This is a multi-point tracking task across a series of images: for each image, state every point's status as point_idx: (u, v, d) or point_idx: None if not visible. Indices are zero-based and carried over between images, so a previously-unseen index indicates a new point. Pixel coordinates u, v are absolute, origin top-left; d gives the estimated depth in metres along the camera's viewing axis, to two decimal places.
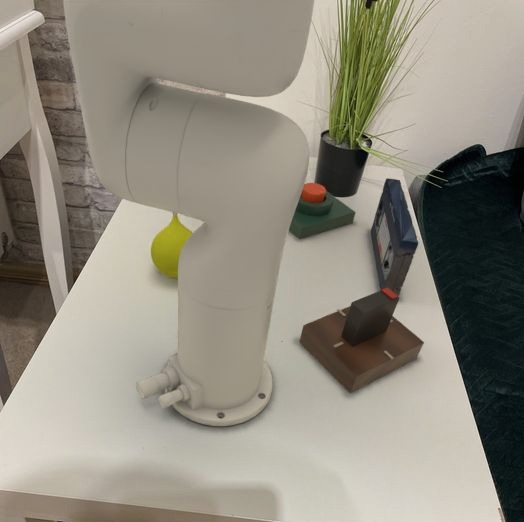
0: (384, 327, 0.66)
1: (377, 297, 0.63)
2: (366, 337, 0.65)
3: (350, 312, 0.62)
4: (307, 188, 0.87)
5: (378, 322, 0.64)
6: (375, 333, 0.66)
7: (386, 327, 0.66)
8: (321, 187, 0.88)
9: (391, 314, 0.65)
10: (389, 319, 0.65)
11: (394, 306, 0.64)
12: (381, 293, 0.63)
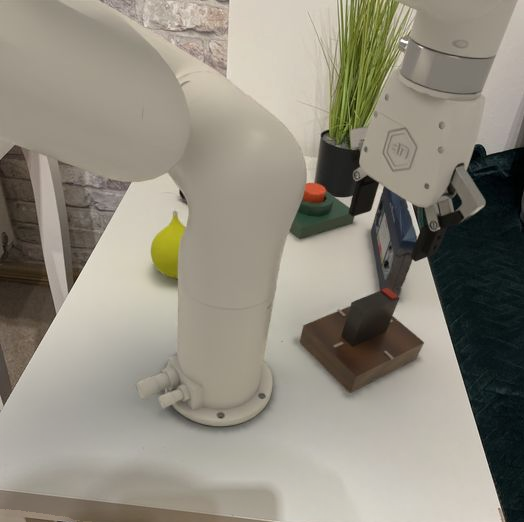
0: (384, 327, 0.66)
1: (377, 297, 0.63)
2: (366, 337, 0.65)
3: (350, 312, 0.62)
4: (307, 188, 0.87)
5: (378, 322, 0.64)
6: (375, 333, 0.66)
7: (386, 327, 0.66)
8: (321, 187, 0.88)
9: (391, 314, 0.65)
10: (389, 319, 0.65)
11: (394, 306, 0.64)
12: (381, 293, 0.63)
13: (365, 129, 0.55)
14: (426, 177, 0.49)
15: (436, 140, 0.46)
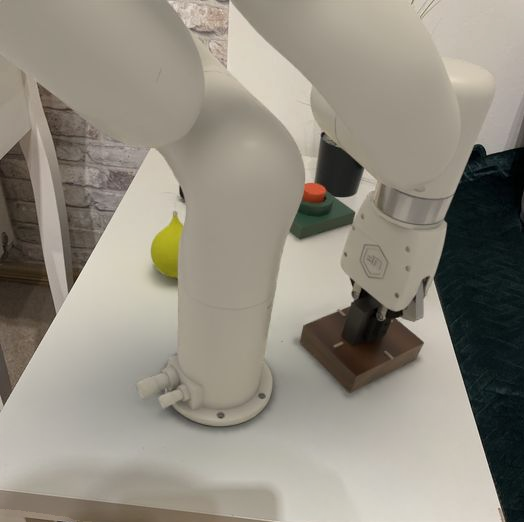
0: None
1: None
2: None
3: (350, 312, 0.62)
4: (307, 188, 0.87)
5: None
6: None
7: None
8: (321, 187, 0.88)
9: None
10: None
11: None
12: None
13: None
14: (396, 288, 0.55)
15: (404, 260, 0.53)
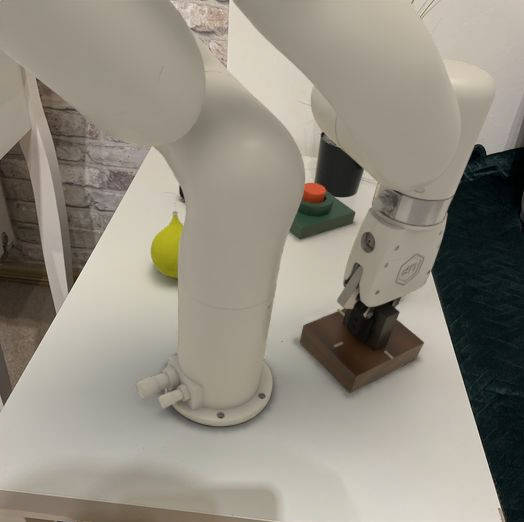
0: None
1: None
2: None
3: (385, 325, 0.61)
4: (307, 188, 0.87)
5: None
6: None
7: None
8: (321, 187, 0.88)
9: None
10: None
11: None
12: None
13: (355, 290, 0.57)
14: (428, 267, 0.59)
15: (436, 243, 0.56)
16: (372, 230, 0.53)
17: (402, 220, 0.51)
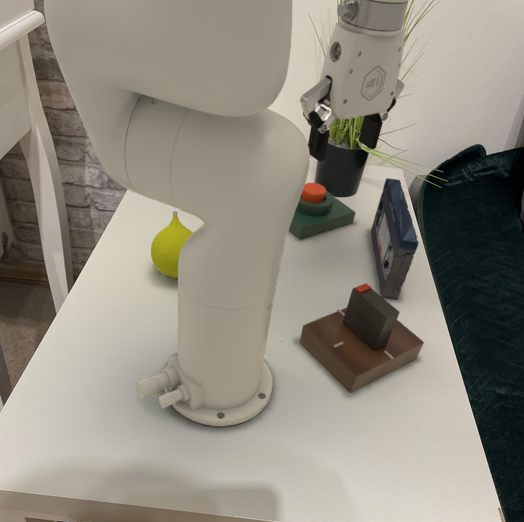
0: None
1: (371, 298, 0.62)
2: None
3: (385, 325, 0.61)
4: (307, 188, 0.87)
5: None
6: None
7: None
8: (321, 187, 0.88)
9: None
10: None
11: None
12: (363, 294, 0.63)
13: (320, 90, 0.65)
14: (391, 88, 0.68)
15: (396, 60, 0.66)
16: (338, 39, 0.62)
17: (363, 25, 0.60)
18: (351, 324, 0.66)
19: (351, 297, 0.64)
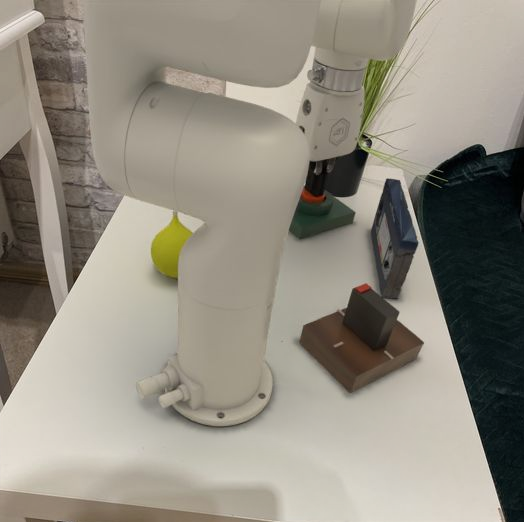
0: None
1: (371, 298, 0.62)
2: None
3: (385, 325, 0.61)
4: (306, 192, 0.87)
5: None
6: None
7: None
8: None
9: None
10: None
11: None
12: (363, 294, 0.63)
13: None
14: (355, 134, 0.81)
15: (358, 113, 0.78)
16: (309, 97, 0.74)
17: (328, 87, 0.73)
18: (351, 324, 0.66)
19: (351, 297, 0.64)
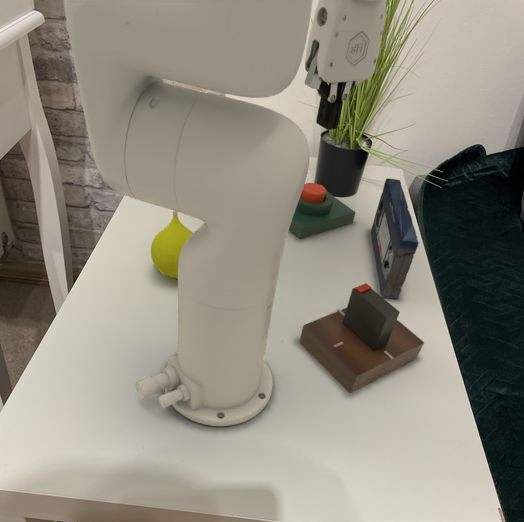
0: None
1: (371, 298, 0.62)
2: None
3: (385, 325, 0.61)
4: (307, 188, 0.87)
5: None
6: None
7: None
8: (321, 187, 0.88)
9: None
10: None
11: None
12: (363, 294, 0.63)
13: (316, 68, 0.71)
14: (374, 55, 0.73)
15: (379, 28, 0.70)
16: (324, 4, 0.66)
17: None
18: (351, 324, 0.66)
19: (351, 297, 0.64)
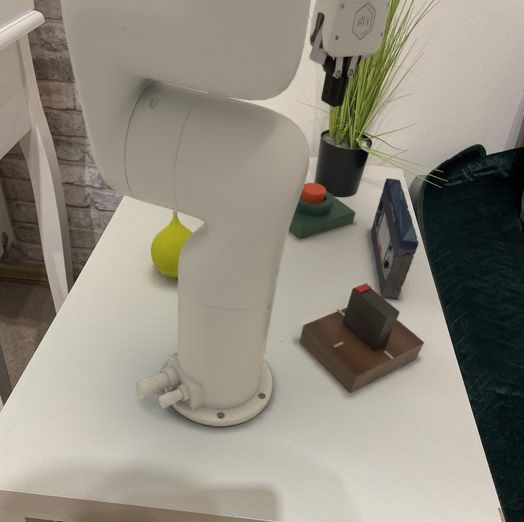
0: None
1: (371, 298, 0.62)
2: None
3: (385, 325, 0.61)
4: (307, 188, 0.87)
5: None
6: None
7: None
8: (321, 187, 0.88)
9: None
10: None
11: None
12: (363, 294, 0.63)
13: (321, 42, 0.69)
14: (381, 28, 0.71)
15: None
16: None
17: None
18: (351, 324, 0.66)
19: (351, 297, 0.64)
